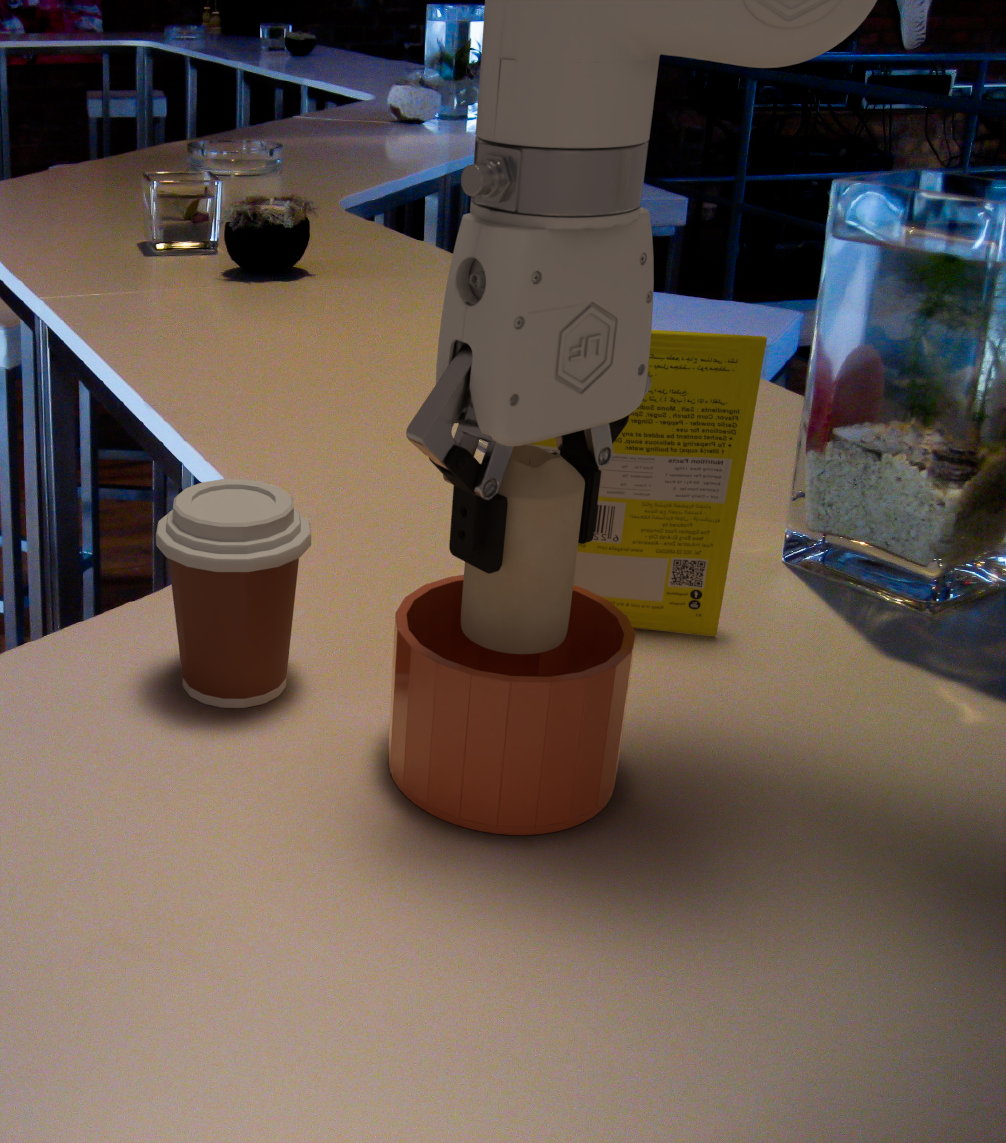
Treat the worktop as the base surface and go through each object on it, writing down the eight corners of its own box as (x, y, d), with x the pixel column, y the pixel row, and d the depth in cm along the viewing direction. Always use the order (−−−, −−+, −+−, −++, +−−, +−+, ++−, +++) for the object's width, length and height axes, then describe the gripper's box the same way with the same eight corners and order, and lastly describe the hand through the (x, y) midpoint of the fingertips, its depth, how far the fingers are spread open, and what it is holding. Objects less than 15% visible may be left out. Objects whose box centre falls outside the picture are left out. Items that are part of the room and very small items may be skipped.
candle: (587, 629, 70) (610, 449, 65) (527, 667, 66) (547, 479, 62) (500, 596, 73) (515, 423, 69) (438, 630, 70) (451, 450, 65)
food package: (715, 632, 88) (766, 334, 79) (716, 640, 87) (768, 339, 78) (479, 609, 91) (503, 319, 82) (478, 616, 90) (502, 324, 81)
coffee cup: (295, 728, 77) (298, 538, 72) (142, 711, 79) (135, 524, 74) (319, 652, 85) (323, 477, 80) (180, 639, 87) (176, 466, 82)
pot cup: (504, 689, 81) (517, 554, 77) (662, 785, 72) (686, 638, 68) (344, 750, 75) (349, 608, 71) (494, 864, 66) (509, 707, 62)
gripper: (469, 214, 53) (441, 620, 61) (750, 175, 61) (693, 535, 69) (353, 187, 58) (341, 562, 66) (625, 155, 67) (586, 490, 75)
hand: (521, 545), depth 68 cm, fingers closed on candle, 5 cm apart
